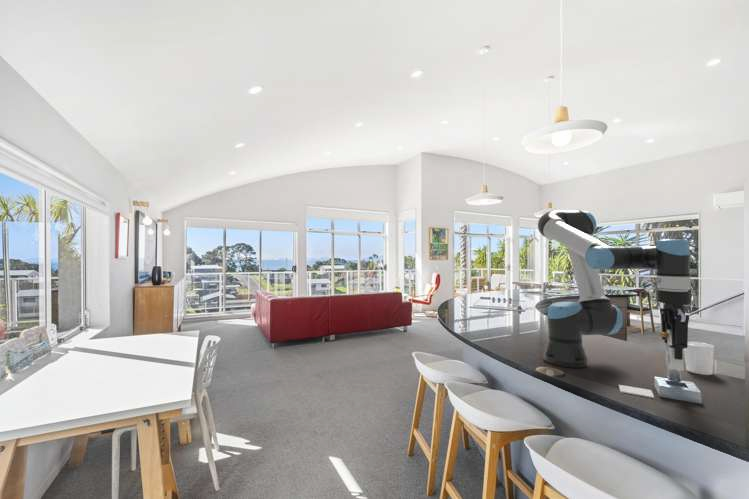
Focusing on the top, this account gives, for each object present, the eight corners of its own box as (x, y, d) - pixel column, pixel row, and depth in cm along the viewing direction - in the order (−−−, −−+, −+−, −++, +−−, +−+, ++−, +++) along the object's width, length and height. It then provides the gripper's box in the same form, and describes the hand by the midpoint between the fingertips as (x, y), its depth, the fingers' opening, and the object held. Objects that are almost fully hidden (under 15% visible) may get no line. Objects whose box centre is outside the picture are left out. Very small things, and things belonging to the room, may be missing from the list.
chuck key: (659, 376, 101) (659, 328, 101) (684, 379, 99) (684, 330, 99) (663, 380, 98) (663, 330, 99) (689, 383, 96) (688, 332, 96)
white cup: (717, 377, 112) (716, 348, 112) (685, 372, 117) (684, 344, 117) (712, 371, 118) (711, 343, 119) (682, 366, 123) (681, 340, 123)
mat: (620, 392, 100) (620, 390, 100) (618, 385, 105) (618, 384, 105) (654, 398, 96) (654, 396, 96) (651, 391, 101) (651, 390, 101)
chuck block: (659, 396, 97) (659, 385, 97) (654, 386, 104) (654, 376, 104) (701, 403, 92) (701, 392, 92) (693, 392, 99) (693, 382, 99)
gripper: (648, 287, 108) (649, 358, 108) (668, 292, 93) (669, 374, 93) (677, 288, 105) (678, 361, 104) (703, 293, 90) (704, 378, 90)
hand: (674, 367), depth 99 cm, fingers closed on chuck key, 3 cm apart
